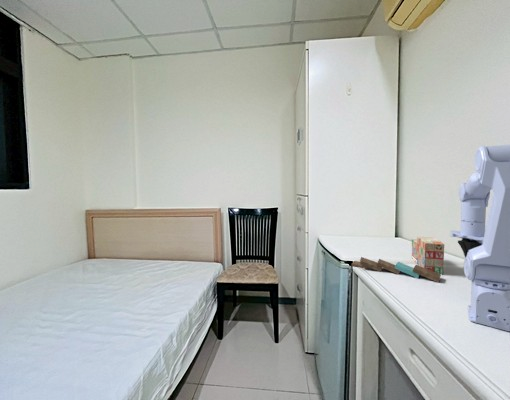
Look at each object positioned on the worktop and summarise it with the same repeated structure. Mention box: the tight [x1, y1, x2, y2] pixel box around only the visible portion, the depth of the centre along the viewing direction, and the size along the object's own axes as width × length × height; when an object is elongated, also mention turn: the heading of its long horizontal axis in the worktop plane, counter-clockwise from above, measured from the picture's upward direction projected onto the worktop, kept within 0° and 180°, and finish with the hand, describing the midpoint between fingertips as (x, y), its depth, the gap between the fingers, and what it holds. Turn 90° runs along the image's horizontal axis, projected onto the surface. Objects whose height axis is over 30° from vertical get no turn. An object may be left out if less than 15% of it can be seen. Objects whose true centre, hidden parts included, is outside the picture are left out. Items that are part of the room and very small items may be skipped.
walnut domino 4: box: [413, 264, 442, 283], centre depth 88 cm, size 2×5×8 cm
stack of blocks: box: [411, 236, 445, 276], centre depth 101 cm, size 21×6×12 cm, turn 158°
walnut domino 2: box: [359, 256, 383, 273], centre depth 98 cm, size 2×5×8 cm
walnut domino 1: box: [351, 260, 373, 271], centre depth 101 cm, size 2×5×8 cm
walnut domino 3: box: [377, 258, 401, 275], centre depth 95 cm, size 2×5×8 cm
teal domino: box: [394, 261, 420, 279], centre depth 92 cm, size 2×5×8 cm
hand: (471, 263), depth 75 cm, fingers closed
